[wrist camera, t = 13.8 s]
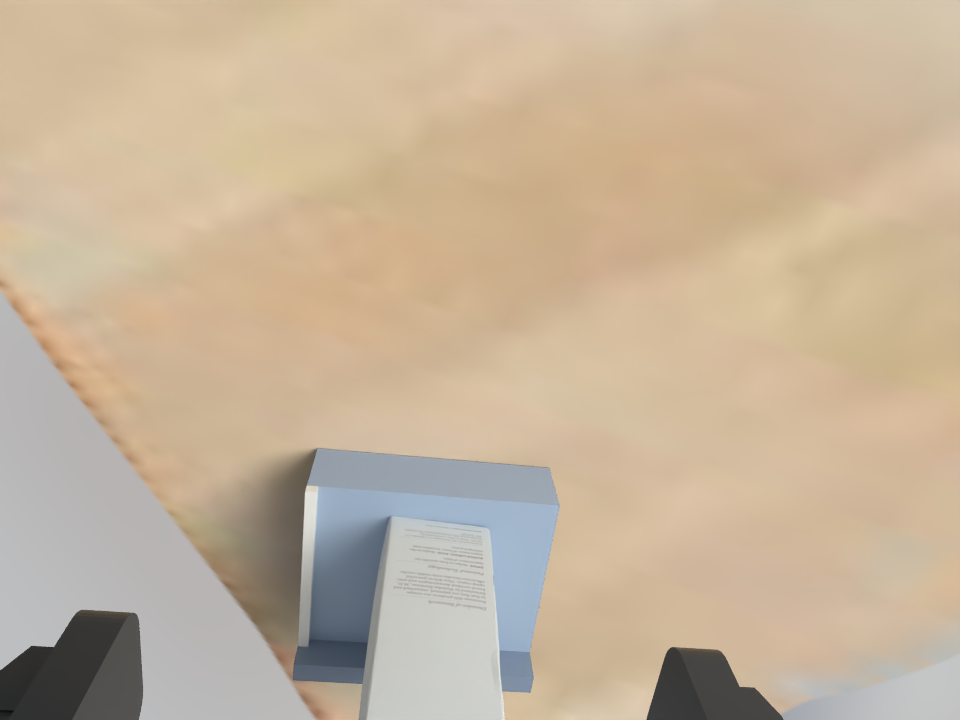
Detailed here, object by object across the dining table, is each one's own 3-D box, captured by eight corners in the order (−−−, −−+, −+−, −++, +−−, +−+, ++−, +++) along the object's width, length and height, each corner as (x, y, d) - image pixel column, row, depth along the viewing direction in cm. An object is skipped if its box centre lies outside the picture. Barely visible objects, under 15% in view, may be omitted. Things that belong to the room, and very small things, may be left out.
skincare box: (467, 632, 45) (481, 891, 31) (367, 623, 44) (337, 884, 30) (491, 518, 42) (518, 750, 28) (383, 506, 41) (358, 738, 27)
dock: (309, 607, 48) (292, 680, 43) (317, 448, 44) (300, 506, 38) (519, 620, 50) (530, 692, 44) (549, 467, 45) (565, 526, 40)
